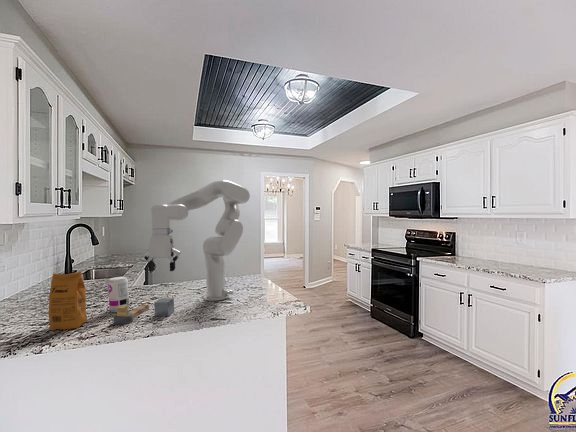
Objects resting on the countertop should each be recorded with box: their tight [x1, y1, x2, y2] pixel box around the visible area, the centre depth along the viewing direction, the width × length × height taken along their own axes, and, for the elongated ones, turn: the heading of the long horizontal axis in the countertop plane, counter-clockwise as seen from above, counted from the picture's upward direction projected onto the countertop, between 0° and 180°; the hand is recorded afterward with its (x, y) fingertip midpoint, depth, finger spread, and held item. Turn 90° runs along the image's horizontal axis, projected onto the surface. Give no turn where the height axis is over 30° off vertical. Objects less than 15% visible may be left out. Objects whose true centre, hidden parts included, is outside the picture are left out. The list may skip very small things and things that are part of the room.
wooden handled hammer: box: [113, 304, 150, 326], centre depth 137 cm, size 20×7×7 cm, turn 175°
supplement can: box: [107, 276, 130, 313], centre depth 147 cm, size 8×8×15 cm
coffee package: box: [48, 271, 88, 331], centre depth 128 cm, size 10×12×22 cm
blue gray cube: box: [153, 297, 175, 317], centre depth 139 cm, size 6×6×6 cm
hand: (161, 270), depth 139 cm, fingers open, 9 cm apart
